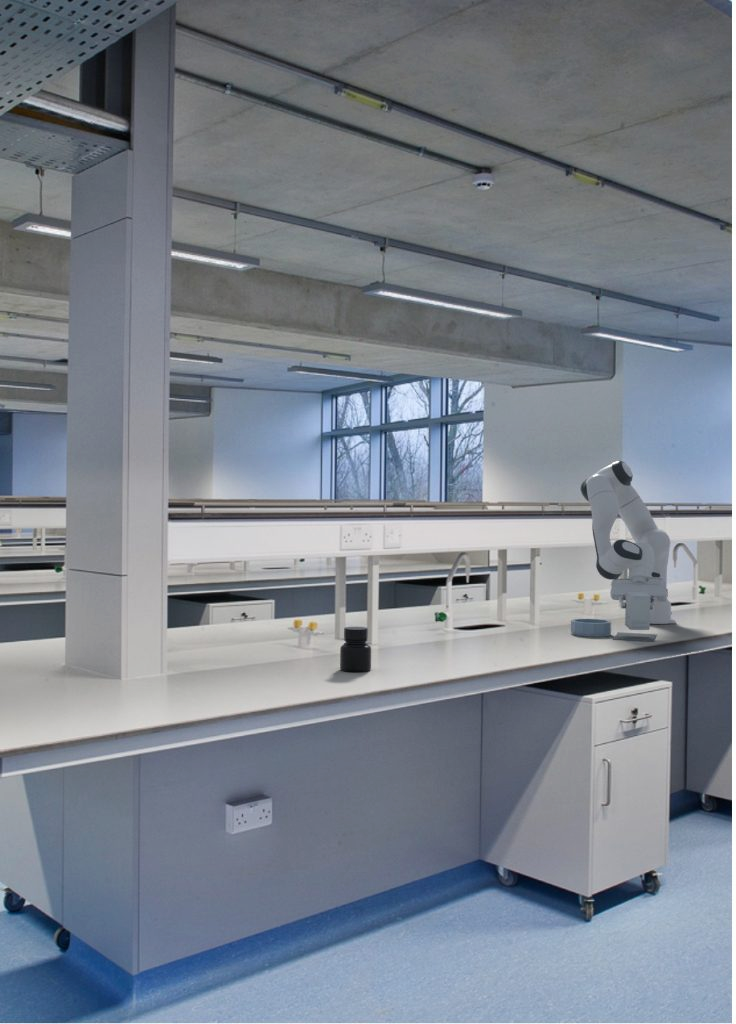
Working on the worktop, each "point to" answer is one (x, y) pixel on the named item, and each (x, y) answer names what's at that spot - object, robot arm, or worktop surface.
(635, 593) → the supplement box
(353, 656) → the ink bottle
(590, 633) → the bowl
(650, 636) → the mat
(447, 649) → the worktop surface
